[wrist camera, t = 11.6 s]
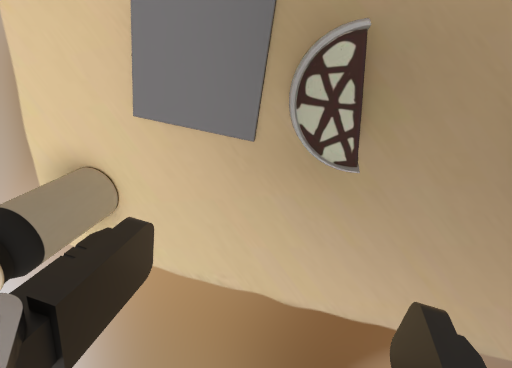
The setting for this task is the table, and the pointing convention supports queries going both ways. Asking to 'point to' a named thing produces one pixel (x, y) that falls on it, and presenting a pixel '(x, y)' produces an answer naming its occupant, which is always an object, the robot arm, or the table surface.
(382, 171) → the table surface
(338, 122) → the food container
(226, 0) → the mat
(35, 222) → the travel mug
